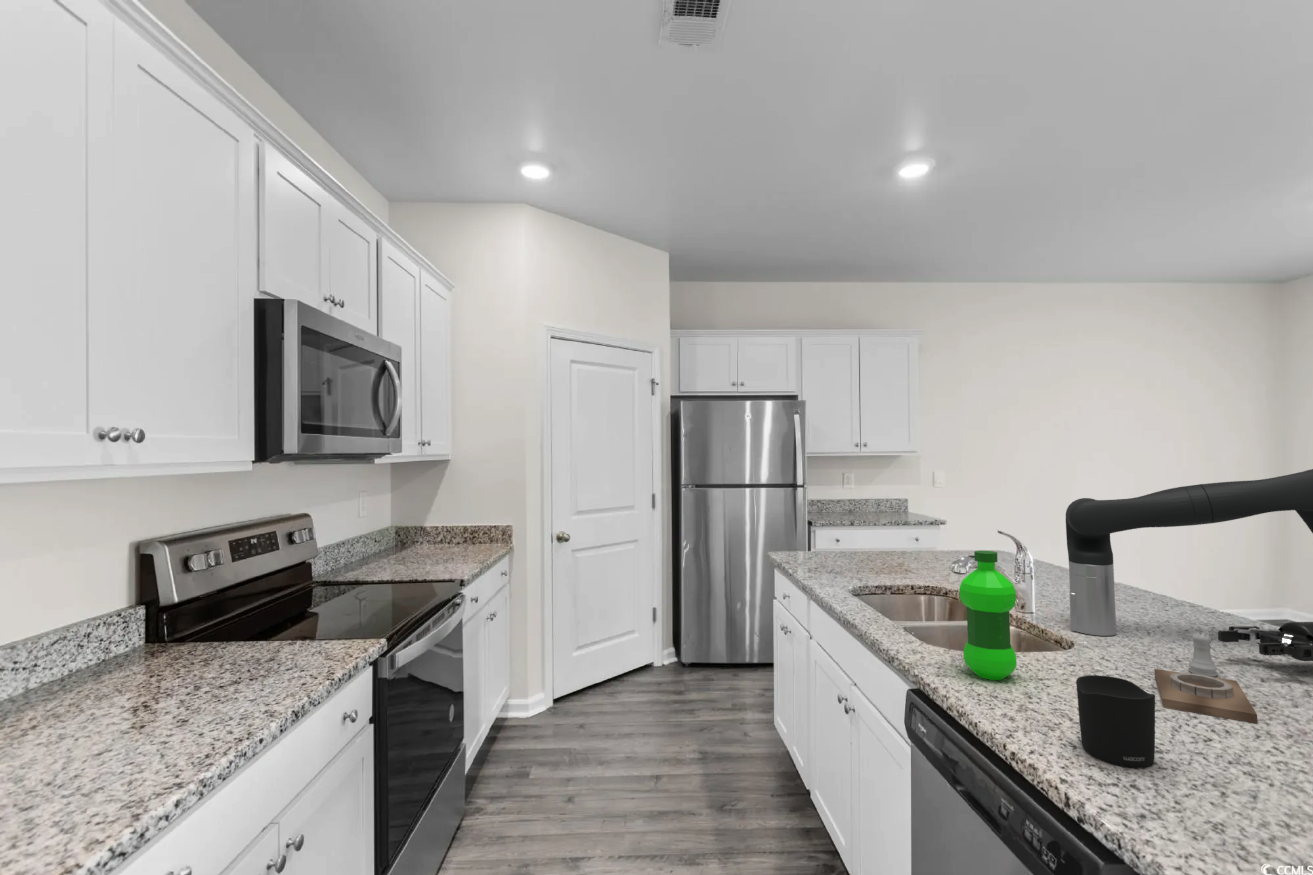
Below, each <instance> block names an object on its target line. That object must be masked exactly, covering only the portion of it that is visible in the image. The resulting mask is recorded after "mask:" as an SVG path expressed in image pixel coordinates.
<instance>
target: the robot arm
mask: <svg viewBox="0 0 1313 875" xmlns="http://www.w3.org/2000/svg"><path fill="white" fill-rule="evenodd" d="M1283 511H1284V512H1287V511H1295V512H1296V513H1297V515H1298V516H1299V517H1300V519H1302V521H1303V522H1304V523H1305V525H1306V526H1307V528H1308V530H1310V532H1311V534H1313V468H1312V469H1311V468H1310V469H1307V470H1304V471H1298V472H1296V473H1290V474H1287V475H1280V476H1276V477H1270V478H1263V479H1253V480H1234V481H1219V482H1211V483H1209V482H1208V483H1199V484H1192V485H1184V486H1179V487H1172V488H1167V489H1163V490H1158V491H1155V492H1151V493H1148V494H1144V495H1140V496H1137V497H1130V498H1120V499H1119V498H1117V499H1094V498H1091V497H1082V498H1078V499H1076V500H1073V501H1072V502H1071V503H1070V504H1069V505H1068V506H1067V508H1066V511H1065V530H1066V531H1065V532H1066V533H1065V534H1066V535H1065V536H1066V547H1067V548H1066V549H1067V556H1068V573H1069V574H1068V576H1069V577H1068V579H1069V611H1070V612H1069V613H1070V615H1069V616H1070V617H1069V618H1070V631H1071V632H1077V633H1081V634H1086V635H1092V636H1103V637H1107V636H1109V637H1110V636H1115V635H1117V617H1116V615H1117V614H1116V612H1117V611H1116V598H1115V597H1116V594H1115V572H1114V571H1115V569H1114V554H1113V549H1112V542H1111V534H1115V533H1119V532H1124V531H1130V530H1131V531H1132V530H1137V529H1144V528H1147V529H1149V528H1170V527H1171V528H1172V527H1176V528H1177V527H1186V526H1187V527H1189V526H1199V525H1208V524H1209V525H1210V524H1216V523H1217V524H1218V523H1223V522H1228V521H1234V520H1240V519H1243V518H1248V517H1254V516H1258V515H1262V514H1266V513H1267V514H1268V513H1274V512H1275V513H1276V512H1283ZM1217 638H1218V641H1219V642H1221V643H1245V644H1246V643H1247V644H1250V645H1251V646H1252V647H1258V652H1259V654H1260V655H1262V656H1282V657H1285V658H1292V659H1295V660H1297V661H1301V662H1313V621H1289V622H1288V621H1287V622H1285V623H1284V624H1282V625H1281V626H1280V627H1279V628H1278V629H1272V628H1268V629H1261V628H1260V627H1259V626H1255V625H1253V626H1252V625H1251V626H1247V625H1245V626H1244V625H1243V626H1242V625H1241V626H1233V625H1232V626H1228V630H1219V631H1217ZM1256 640H1259V642H1257V641H1256Z"/></svg>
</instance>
